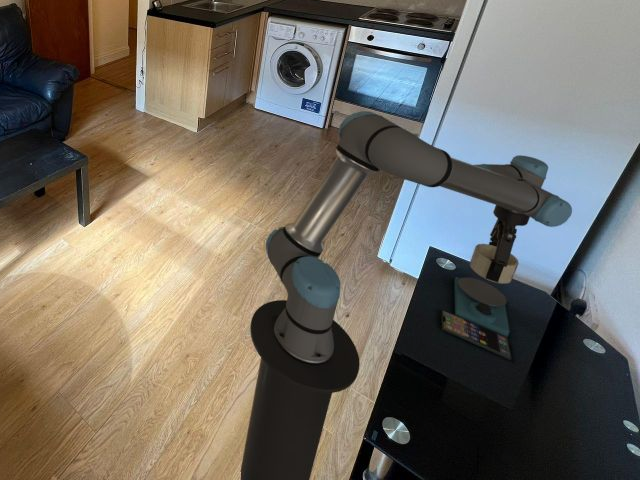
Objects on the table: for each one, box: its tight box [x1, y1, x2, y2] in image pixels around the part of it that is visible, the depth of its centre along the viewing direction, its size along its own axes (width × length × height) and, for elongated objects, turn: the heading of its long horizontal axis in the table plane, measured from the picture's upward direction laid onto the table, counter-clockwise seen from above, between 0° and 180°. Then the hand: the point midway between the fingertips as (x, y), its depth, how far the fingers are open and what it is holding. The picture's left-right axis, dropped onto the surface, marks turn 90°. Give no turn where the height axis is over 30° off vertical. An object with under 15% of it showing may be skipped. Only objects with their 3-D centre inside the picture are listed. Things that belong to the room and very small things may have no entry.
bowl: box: [469, 243, 519, 285], centre depth 123 cm, size 10×10×7 cm
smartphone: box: [441, 309, 512, 361], centre depth 115 cm, size 8×15×1 cm, turn 54°
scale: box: [453, 276, 510, 338], centre depth 125 cm, size 18×12×4 cm, turn 142°
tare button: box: [477, 303, 491, 315], centre depth 119 cm, size 3×3×2 cm
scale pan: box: [458, 277, 507, 307], centre depth 126 cm, size 12×12×1 cm
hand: (490, 270), depth 124 cm, fingers closed on bowl, 10 cm apart
